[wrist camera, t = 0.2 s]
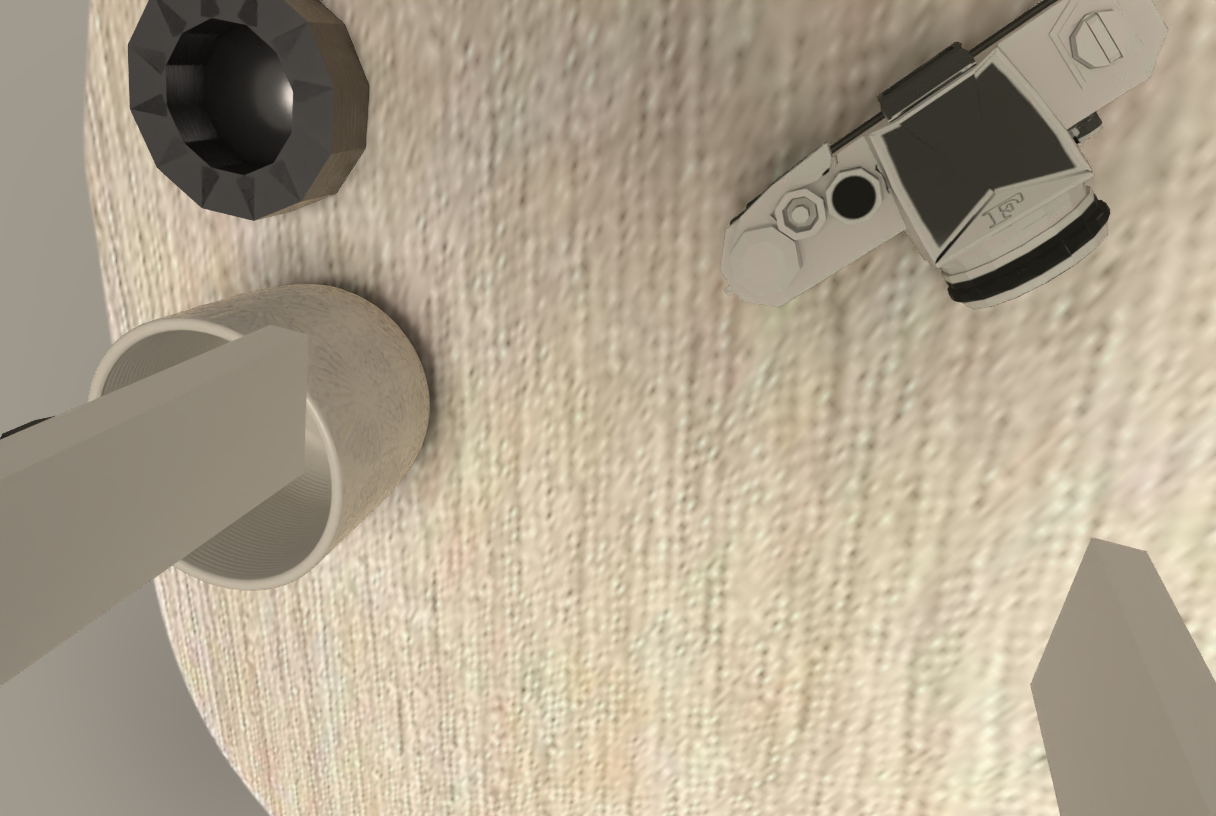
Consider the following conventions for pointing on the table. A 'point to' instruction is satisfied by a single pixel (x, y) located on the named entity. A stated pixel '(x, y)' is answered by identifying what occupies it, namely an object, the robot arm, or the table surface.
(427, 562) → the table surface
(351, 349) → the planter
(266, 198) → the grey ring
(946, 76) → the camera
